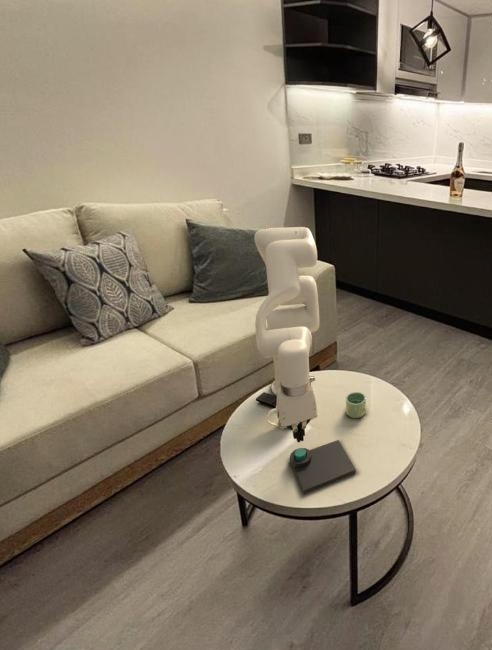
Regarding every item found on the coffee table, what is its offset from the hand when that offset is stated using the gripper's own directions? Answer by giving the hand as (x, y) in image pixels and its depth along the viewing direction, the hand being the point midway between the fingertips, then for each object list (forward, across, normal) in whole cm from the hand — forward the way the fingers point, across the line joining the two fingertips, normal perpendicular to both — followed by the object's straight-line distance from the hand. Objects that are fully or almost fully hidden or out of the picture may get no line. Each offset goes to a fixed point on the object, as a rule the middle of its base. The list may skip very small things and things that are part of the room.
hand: (299, 438), depth 114 cm
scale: (+9, -5, +5) cm, 11 cm away
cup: (+9, 0, -17) cm, 20 cm away
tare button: (+6, 0, +1) cm, 6 cm away
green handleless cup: (+9, -23, -12) cm, 28 cm away
